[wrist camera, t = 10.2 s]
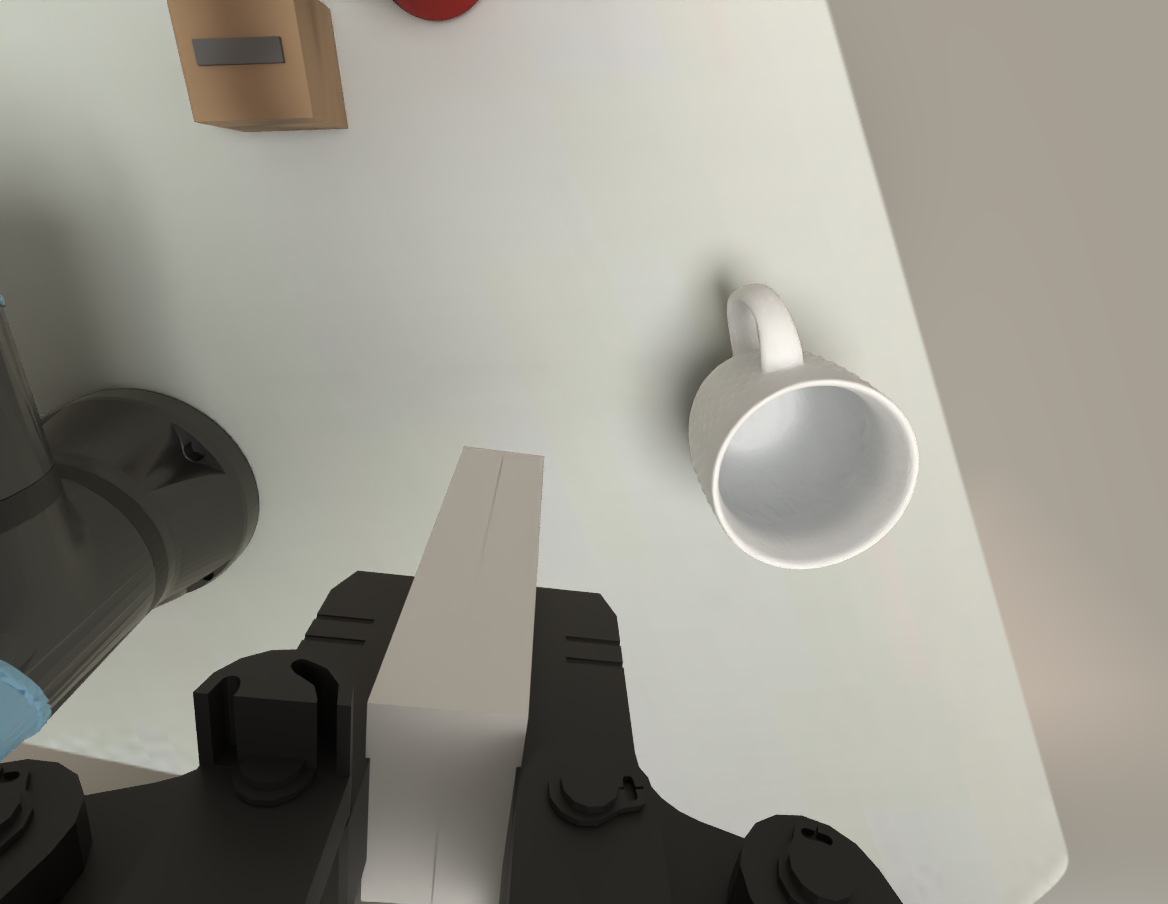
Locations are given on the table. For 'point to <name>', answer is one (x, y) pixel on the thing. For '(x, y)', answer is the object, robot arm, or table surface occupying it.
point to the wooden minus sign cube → (259, 64)
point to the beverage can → (435, 8)
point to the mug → (796, 445)
